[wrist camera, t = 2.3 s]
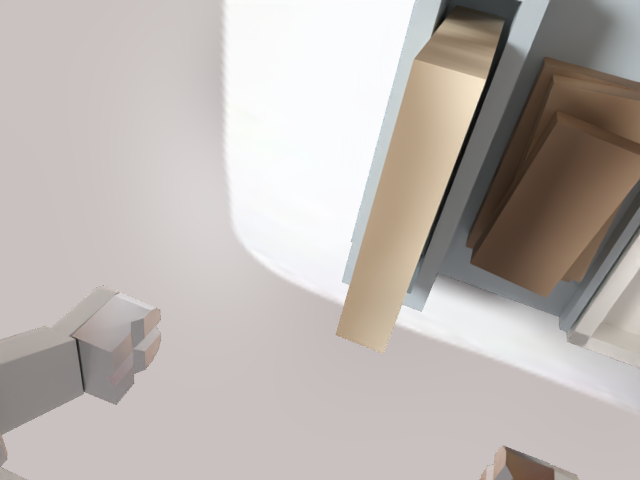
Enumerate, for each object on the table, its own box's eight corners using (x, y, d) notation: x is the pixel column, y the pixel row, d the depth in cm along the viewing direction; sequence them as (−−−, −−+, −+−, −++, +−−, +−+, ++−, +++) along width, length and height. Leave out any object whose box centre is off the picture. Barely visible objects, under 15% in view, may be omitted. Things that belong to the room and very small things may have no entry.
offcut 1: (673, 91, 20) (680, 102, 19) (567, 267, 26) (568, 282, 24) (544, 56, 21) (544, 64, 20) (468, 233, 26) (465, 246, 25)
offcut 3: (647, 146, 19) (653, 160, 18) (546, 280, 23) (546, 297, 22) (556, 109, 20) (557, 121, 19) (473, 247, 24) (469, 263, 23)
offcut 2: (664, 96, 19) (671, 107, 18) (578, 265, 24) (580, 282, 23) (553, 73, 20) (553, 83, 19) (491, 241, 25) (488, 256, 24)
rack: (753, 15, 19) (801, 42, 15) (566, 307, 28) (569, 367, 24) (435, -63, 21) (414, -55, 18) (355, 232, 30) (330, 277, 26)
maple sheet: (505, 17, 21) (486, 80, 14) (424, 235, 27) (383, 353, 20) (457, 5, 21) (413, 58, 14) (388, 223, 28) (335, 334, 21)
